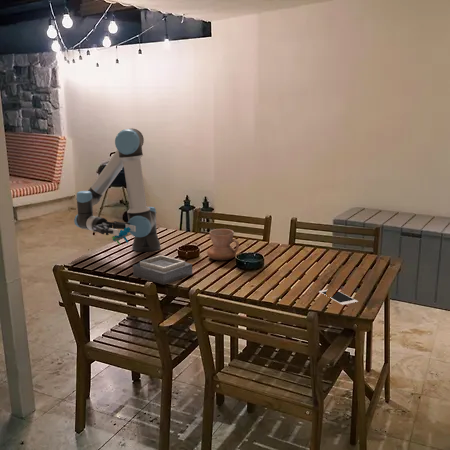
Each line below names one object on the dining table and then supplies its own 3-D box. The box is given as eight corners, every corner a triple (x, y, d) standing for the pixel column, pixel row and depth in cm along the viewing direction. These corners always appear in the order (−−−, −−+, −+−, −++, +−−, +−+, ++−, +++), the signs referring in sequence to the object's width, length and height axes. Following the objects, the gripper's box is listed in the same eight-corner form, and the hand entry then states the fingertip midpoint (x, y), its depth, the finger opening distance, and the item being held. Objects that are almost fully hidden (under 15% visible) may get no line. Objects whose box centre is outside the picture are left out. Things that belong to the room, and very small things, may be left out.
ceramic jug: (199, 259, 250) (199, 232, 247) (214, 252, 263) (214, 226, 259) (231, 265, 242) (231, 237, 239) (244, 257, 254) (245, 230, 251)
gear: (124, 235, 245) (132, 223, 238) (131, 244, 244) (139, 232, 237) (107, 242, 237) (114, 230, 230) (114, 252, 236) (122, 240, 229)
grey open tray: (162, 266, 240) (161, 253, 239) (192, 274, 228) (192, 260, 227) (133, 275, 227) (132, 261, 225) (163, 284, 215) (163, 270, 213)
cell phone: (342, 306, 191) (342, 304, 191) (318, 292, 206) (318, 291, 206) (358, 302, 195) (358, 301, 194) (333, 289, 209) (333, 288, 209)
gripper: (115, 227, 258) (144, 234, 244) (79, 235, 242) (108, 243, 228) (114, 213, 257) (144, 219, 243) (78, 220, 240) (107, 227, 226)
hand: (126, 230), depth 235 cm, fingers closed on gear, 9 cm apart
